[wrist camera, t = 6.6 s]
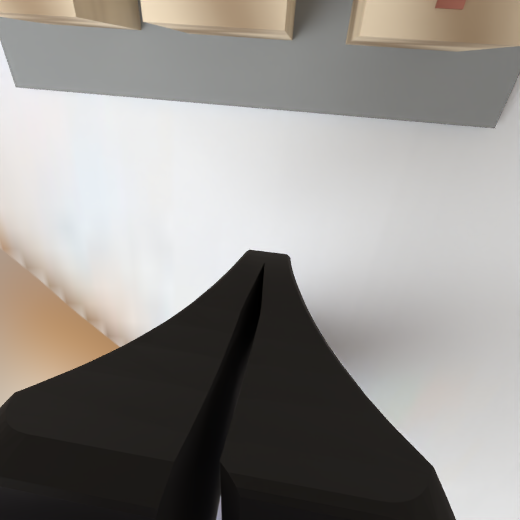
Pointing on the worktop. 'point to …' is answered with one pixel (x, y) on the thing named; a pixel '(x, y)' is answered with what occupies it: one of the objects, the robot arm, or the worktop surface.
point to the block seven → (75, 12)
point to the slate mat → (267, 69)
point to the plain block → (224, 17)
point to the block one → (435, 24)
